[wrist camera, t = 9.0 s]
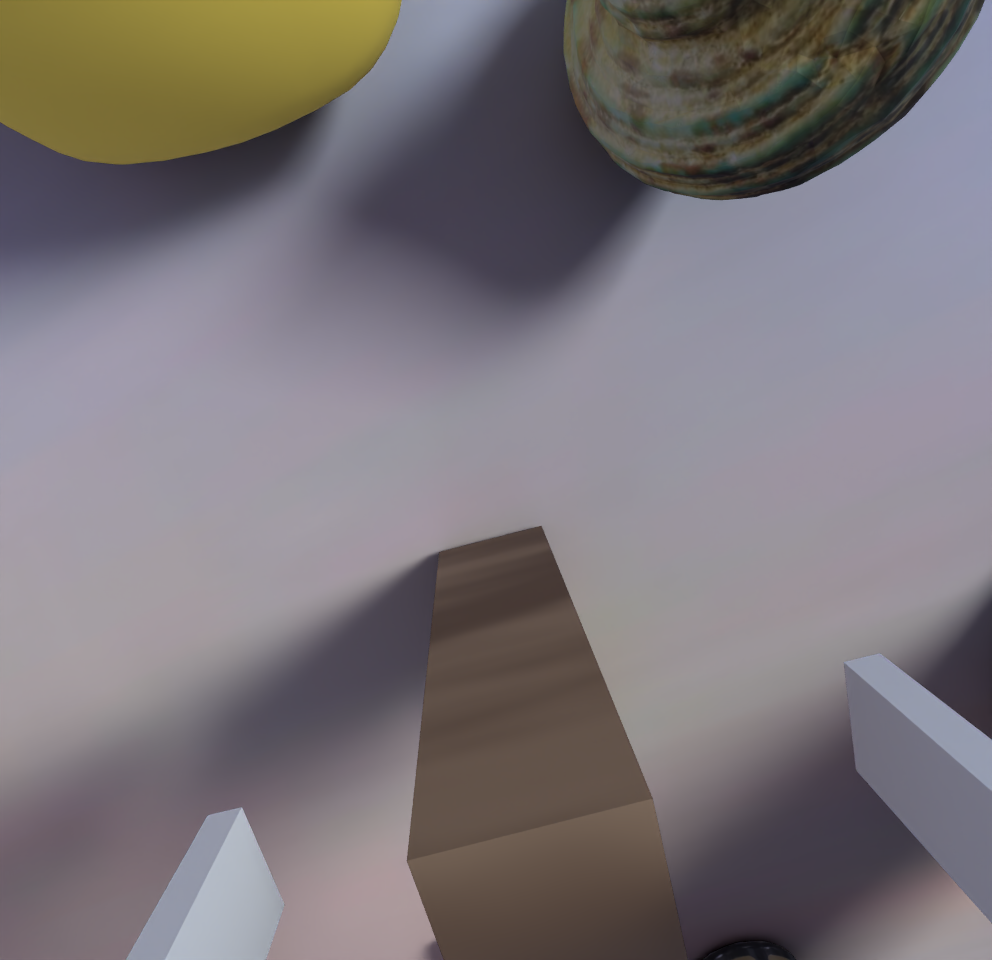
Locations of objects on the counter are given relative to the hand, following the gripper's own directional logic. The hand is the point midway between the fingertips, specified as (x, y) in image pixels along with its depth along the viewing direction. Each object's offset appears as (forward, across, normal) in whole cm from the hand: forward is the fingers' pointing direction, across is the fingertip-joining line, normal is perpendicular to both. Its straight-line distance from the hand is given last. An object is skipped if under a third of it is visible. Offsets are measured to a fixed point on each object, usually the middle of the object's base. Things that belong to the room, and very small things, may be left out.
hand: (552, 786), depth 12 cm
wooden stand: (+11, +4, -13) cm, 17 cm away
